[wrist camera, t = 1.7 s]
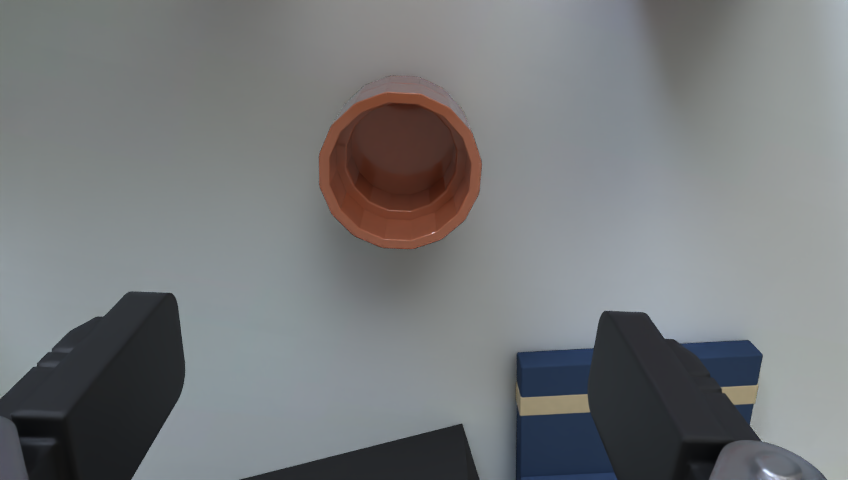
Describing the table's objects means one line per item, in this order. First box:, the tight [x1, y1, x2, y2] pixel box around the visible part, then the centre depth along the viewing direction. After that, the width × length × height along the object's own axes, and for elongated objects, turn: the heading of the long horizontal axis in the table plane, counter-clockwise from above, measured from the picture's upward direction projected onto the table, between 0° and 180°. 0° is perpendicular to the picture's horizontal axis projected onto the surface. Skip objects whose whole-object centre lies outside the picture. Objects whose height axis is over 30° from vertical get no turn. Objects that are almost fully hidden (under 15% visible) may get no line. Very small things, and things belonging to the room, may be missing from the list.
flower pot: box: [319, 75, 482, 249], centre depth 25 cm, size 6×6×5 cm
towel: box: [516, 340, 763, 480], centre depth 33 cm, size 12×14×2 cm
